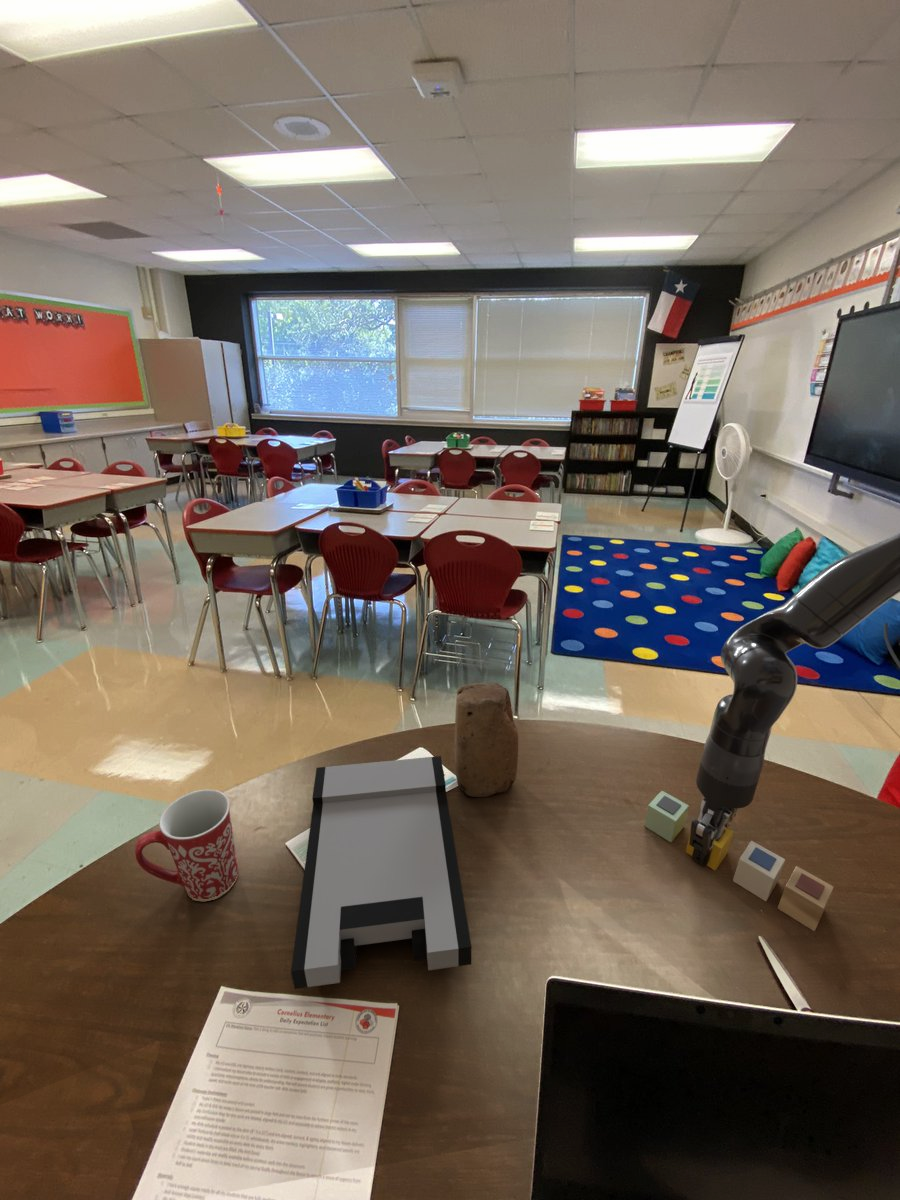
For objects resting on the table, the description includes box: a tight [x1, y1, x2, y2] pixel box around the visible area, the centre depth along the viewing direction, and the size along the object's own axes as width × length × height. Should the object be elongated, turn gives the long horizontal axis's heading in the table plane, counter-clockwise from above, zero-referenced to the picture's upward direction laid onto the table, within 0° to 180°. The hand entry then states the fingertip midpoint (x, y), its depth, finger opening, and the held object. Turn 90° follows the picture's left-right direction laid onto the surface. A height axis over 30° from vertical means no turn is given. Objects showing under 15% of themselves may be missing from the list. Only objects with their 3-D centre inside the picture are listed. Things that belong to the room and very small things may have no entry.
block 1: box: [453, 682, 519, 798], centre depth 93 cm, size 11×8×20 cm
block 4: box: [777, 865, 835, 932], centre depth 74 cm, size 5×5×5 cm
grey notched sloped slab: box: [290, 755, 472, 990], centre depth 78 cm, size 21×32×8 cm, turn 7°
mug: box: [134, 788, 239, 899], centre depth 76 cm, size 13×9×14 cm
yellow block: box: [685, 825, 734, 871], centre depth 83 cm, size 5×5×5 cm
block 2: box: [644, 790, 690, 843], centre depth 87 cm, size 5×5×5 cm
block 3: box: [732, 840, 786, 902], centre depth 78 cm, size 5×5×5 cm
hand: (707, 851), depth 83 cm, fingers closed on yellow block, 4 cm apart
